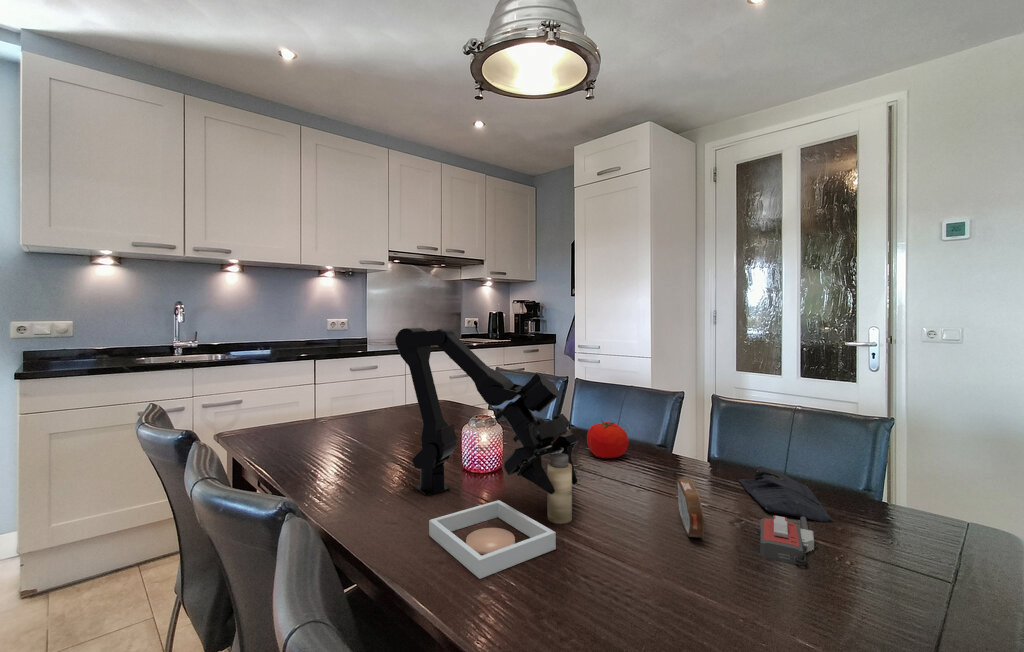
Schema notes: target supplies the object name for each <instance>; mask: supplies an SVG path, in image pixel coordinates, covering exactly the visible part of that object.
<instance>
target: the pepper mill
mask: <svg viewBox="0 0 1024 652" xmlns="http://www.w3.org/2000/svg"><path fill="white" fill-rule="evenodd" d="M546 468H547V470H546V471H547V473H546V475H547V476H548V478H549V480H550V482H551V483H552V485H553V488H554V490H555V492H554V493H553V494H550V493H548V492H547V491H546V493H547V495H546V497H547V504H546V505H547V511H546V512H547V518H546V519H547V520H548V522H550V523H552V524H553V523H554V524H557V525H558V524H559V525H563V524H568V523H571V521H572V520H573V484H572V465H571V464H570V463H568V455H567V454H564V453H554V454H551V455H550V462H549V463H547V465H546Z"/></svg>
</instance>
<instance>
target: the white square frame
mask: <svg viewBox="0 0 1024 652" xmlns="http://www.w3.org/2000/svg"><path fill="white" fill-rule="evenodd" d="M496 518H499V519H500V520H502V521H503V522H504V523H506V524H508V525H510V526H511V527H513V528H515V529H516V530H517V531H519V532H521V533H523V534H524V535H526V536H527V537H529V538H527V539H524V540H522V541H519V542H516V537H515V535H514V533H512V532H511V531H509V530H507V529H505V528H499V527H485V528H484V527H483V528H479V529H476V530H474V531H472V532H470V533H469V534H468V535H467V536H466V540H465V541H463V540H462V539H461V538H459V537H458V536H457V535H455V534H454V533H453V532H454V531H458V530H460V529H461V530H462V529H464V528H467V527H471V526H473V525H477V524H481V523H484V522H486V521H489V520H493V519H496ZM428 521H429V522H428V525H429V526H428V527H429V528H428V530H429V531H428V532H429V534H428V535H429V537H430V538H431V539H432V540H434V541H435V542H436V543H437V544H438V545H439V546H441V548H443V549H444V550H446V551H447V552H448V553H449V554H450V555H451V556H453V557H454V559H456V560H457V561H458V562H459V563H460V564H462V565H463V566H464V567H465V568H466V569H467V570H469V572H471V573H472V574H473V575H474V576H475V577H477V578H478V579H479V580H481V579H483V578H486V577H488V576H491V575H493V574H496V573H499V572H501V571H503V570H506V569H508V568H511V567H514V566H516V565H519V564H521V563H523V562H526V561H529V560H532V559H533V558H537V557H539V556H541V555H544V554H547V553H549V552H552V551H554V550H556V549H557V547H556V537H557V533H556V531H554V530H552V529H551V528H549V527H547V526H545V525H544V524H542V523H540V522H538V521H537V520H534V519H533V518H531V517H529V516H528V515H525V514H524V513H522V512H520V511H518V510H517V509H515V508H514V507H512V506H510V505H508V504H507V503H505V502H503V501H501V500H499V499H497V500H495V501H491V502H488V503H484V504H480V505H478V506H477V505H476V506H473V507H470V508H467V509H462V510H460V511H456V512H452V513H449V514H446V515H443V516H438V517H436V518H432V519H429V520H428Z"/></svg>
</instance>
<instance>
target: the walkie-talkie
mask: <svg viewBox="0 0 1024 652" xmlns="http://www.w3.org/2000/svg"><path fill="white" fill-rule="evenodd" d="M807 520H808V519H806V518H805V517H803V516H802V517H801V518H800V520H799V521H800V525H801V526H800V525H798V524H796V523H794V522H789V521H788V518H787V517H785V516H780V515H773V518H770V517H768V518H767V517H766V518H765V517H764V518H761V519H760V522H759V525H758V526H759V527H758V532H759V533H758V535H759V537H760V538H759V540H760V541H759V556H761V555H762V556H764V557H766V558H765V559H768V558H770V559H769V560H773V559H775V560H774V561H778V560H780V561H779V562H782V561H785V562H784V563H787V562H789V564H791V563H792V565H796V564H798V565H797V566H805V565H806V564H807V556H806V555H807V553H809V551H810V552H813V551H815V539H814V537H815V535H814V531H813V530H810V529H809V526H808V521H807ZM800 527H801V528H800ZM812 550H813V551H812ZM762 556H761V557H762ZM764 557H763V558H764Z"/></svg>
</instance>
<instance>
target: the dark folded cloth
mask: <svg viewBox="0 0 1024 652" xmlns="http://www.w3.org/2000/svg"><path fill="white" fill-rule="evenodd" d="M738 481H739V483H740V484H741V485H742V487H743V488H744V489H745V491H746V492H747V493H748V494H749V495H750V494H751V496H752V498H753V499H755V501H756V502H757V503H758V504H759V505H760V506H761V508H763V507H764V509H765V510H766V511H768V512H769V513H772V514H778V515H779V514H780V515H784V514H785V516H791V517H796V518H801V517H802V516H803V517H805V518H806V520H810V521H815V522H820V523H828V522H829V523H833V522H834V519H833V518H832V517H831V516H830V515H829V514H828V512H827V510H826V509H825V508H824V506H823V504H822V503H821V502H820V501H819V499H818V497H817V496H816V495H815V494H814V493H813V491H812V490H811V488H809V487H808V485H807V484H804V483H802V482H799V481H796V480H795V479H793V478H791V477H789V476H788V475H786V474H784V473H782V472H780V471H776V470H773V469H770V468H768V467H765V466H761V465H760V466H758V467H757V470H756V471H755V473H754V475H753V478H743V479H742V478H741V479H739V480H738Z"/></svg>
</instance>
